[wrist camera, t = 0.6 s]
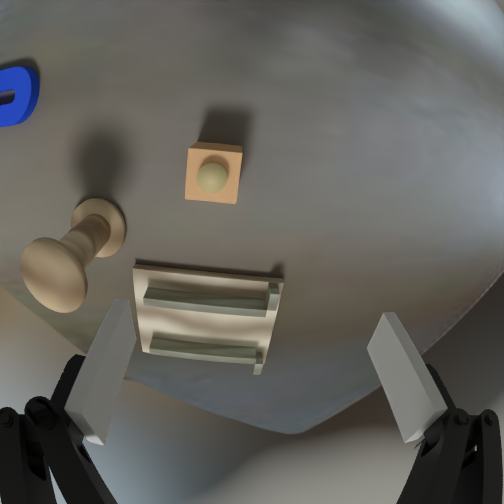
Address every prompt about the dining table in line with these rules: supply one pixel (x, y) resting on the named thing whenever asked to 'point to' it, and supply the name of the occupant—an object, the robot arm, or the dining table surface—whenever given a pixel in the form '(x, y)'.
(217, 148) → the tab
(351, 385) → the dining table surface
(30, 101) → the bracket
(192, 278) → the board
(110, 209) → the bobbin
